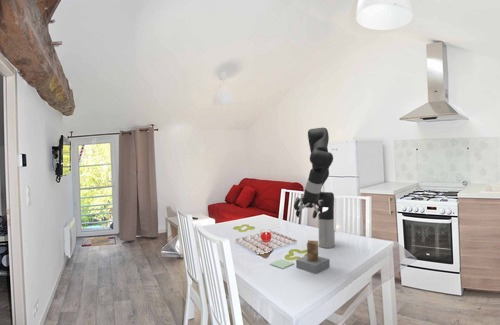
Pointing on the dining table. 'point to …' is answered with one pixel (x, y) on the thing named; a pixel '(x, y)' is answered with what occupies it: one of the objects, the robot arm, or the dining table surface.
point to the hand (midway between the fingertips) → (305, 217)
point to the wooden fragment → (264, 255)
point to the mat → (281, 264)
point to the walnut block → (312, 250)
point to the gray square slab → (313, 264)
